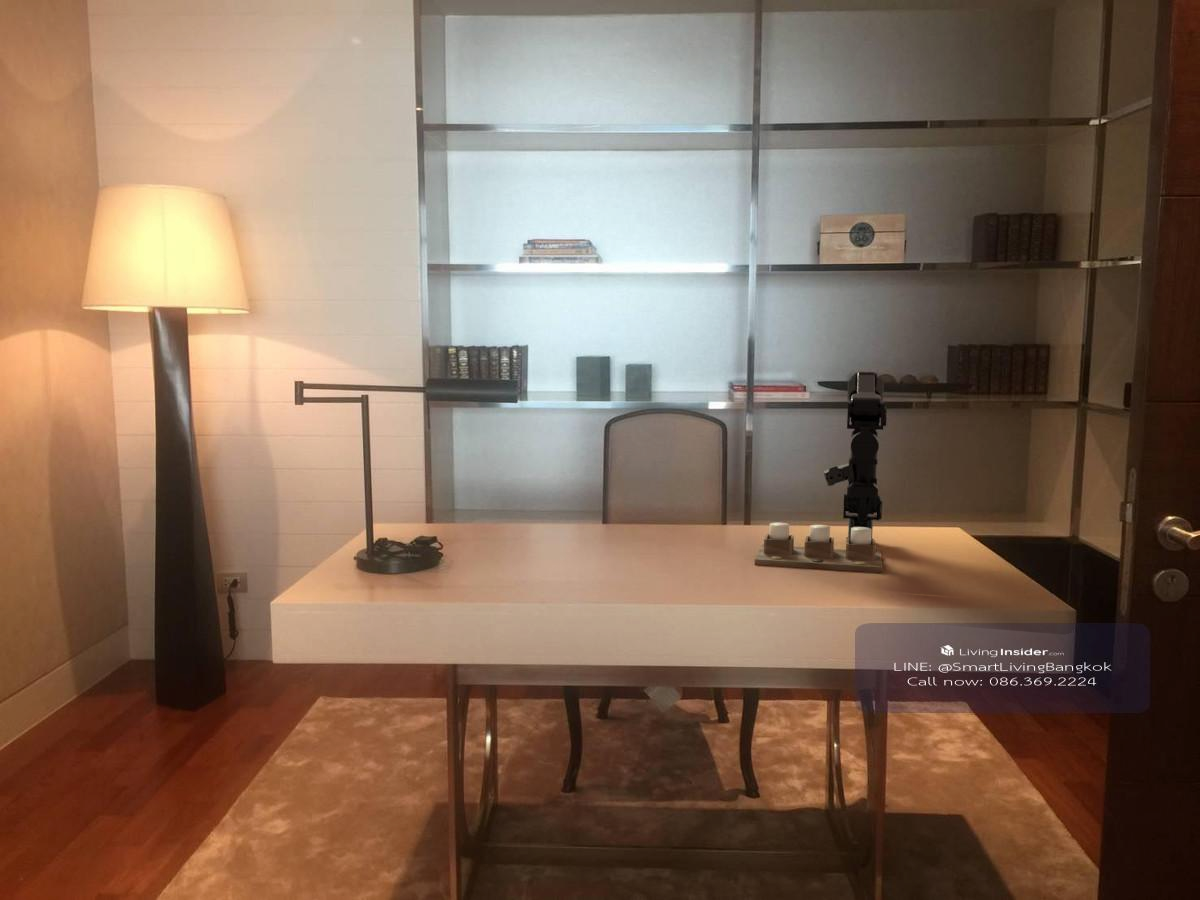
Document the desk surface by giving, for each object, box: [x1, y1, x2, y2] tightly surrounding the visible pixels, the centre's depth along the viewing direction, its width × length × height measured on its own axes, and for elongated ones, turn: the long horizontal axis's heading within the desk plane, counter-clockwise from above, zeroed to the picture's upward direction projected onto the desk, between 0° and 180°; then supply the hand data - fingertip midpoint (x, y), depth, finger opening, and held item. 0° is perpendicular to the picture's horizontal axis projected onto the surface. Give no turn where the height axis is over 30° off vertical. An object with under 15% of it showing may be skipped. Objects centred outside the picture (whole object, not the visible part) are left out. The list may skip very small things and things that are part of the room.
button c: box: [768, 522, 790, 540], centre depth 215 cm, size 4×4×4 cm
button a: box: [851, 527, 871, 545], centre depth 210 cm, size 4×4×4 cm
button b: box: [809, 524, 831, 543], centre depth 213 cm, size 4×4×4 cm
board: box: [754, 533, 883, 574], centre depth 212 cm, size 15×27×4 cm, turn 75°
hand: (861, 523), depth 210 cm, fingers closed
